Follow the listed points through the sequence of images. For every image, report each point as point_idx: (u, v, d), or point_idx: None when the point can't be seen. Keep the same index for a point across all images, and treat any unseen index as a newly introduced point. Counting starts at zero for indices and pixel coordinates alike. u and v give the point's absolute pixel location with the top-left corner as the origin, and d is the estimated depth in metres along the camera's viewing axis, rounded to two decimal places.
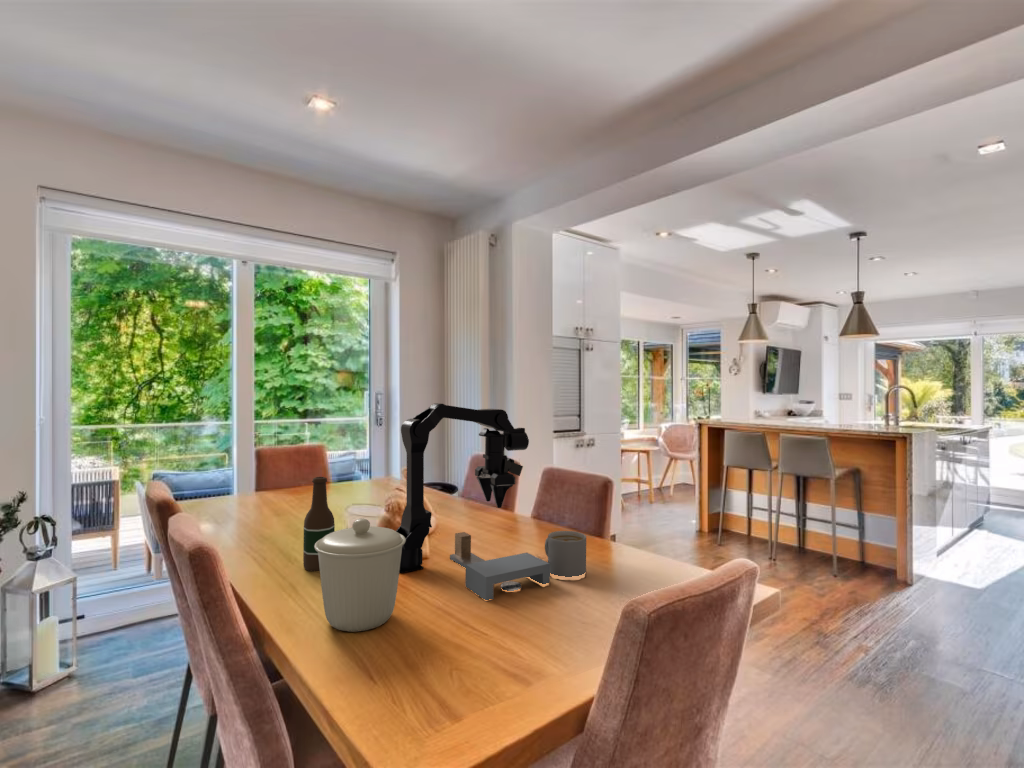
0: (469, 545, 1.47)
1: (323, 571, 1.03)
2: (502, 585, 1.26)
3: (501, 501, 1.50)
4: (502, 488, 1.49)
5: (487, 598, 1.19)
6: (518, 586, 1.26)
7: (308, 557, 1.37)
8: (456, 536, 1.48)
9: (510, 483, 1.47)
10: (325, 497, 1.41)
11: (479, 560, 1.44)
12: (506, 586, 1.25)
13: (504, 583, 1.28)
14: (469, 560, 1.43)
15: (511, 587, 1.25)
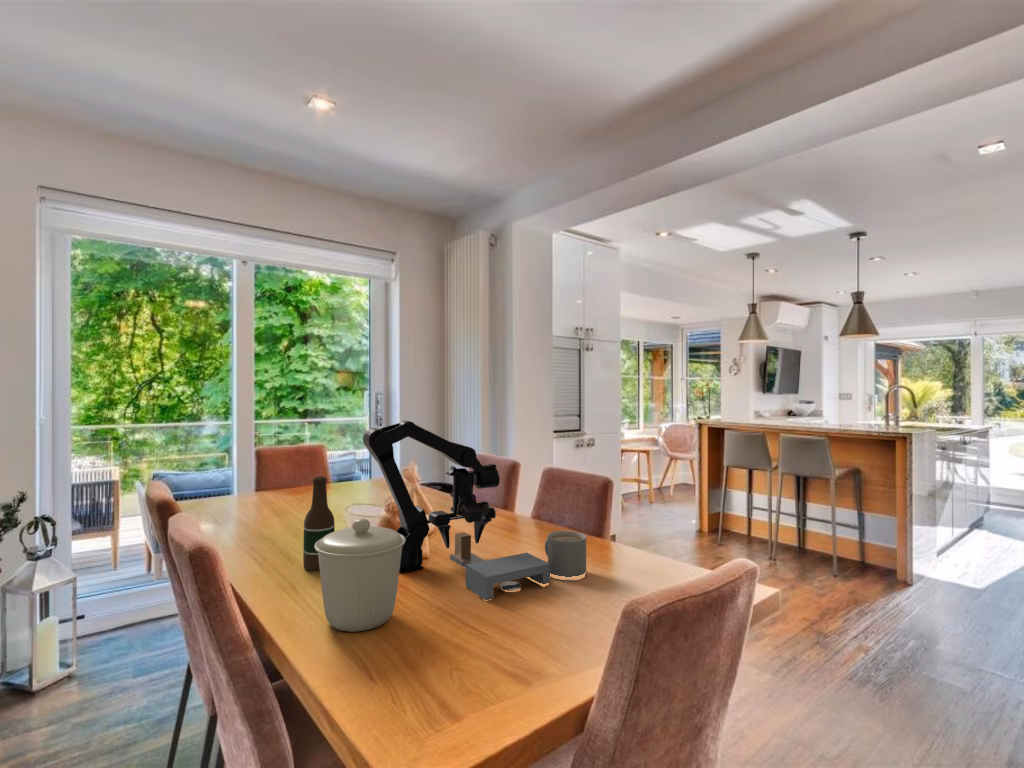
0: (469, 545, 1.47)
1: (323, 571, 1.03)
2: (502, 585, 1.26)
3: (445, 541, 1.45)
4: None
5: (487, 598, 1.19)
6: (518, 586, 1.26)
7: (308, 557, 1.37)
8: (456, 536, 1.48)
9: (434, 523, 1.42)
10: (325, 497, 1.41)
11: (479, 560, 1.44)
12: (506, 586, 1.25)
13: (504, 583, 1.28)
14: (469, 560, 1.43)
15: (511, 587, 1.25)
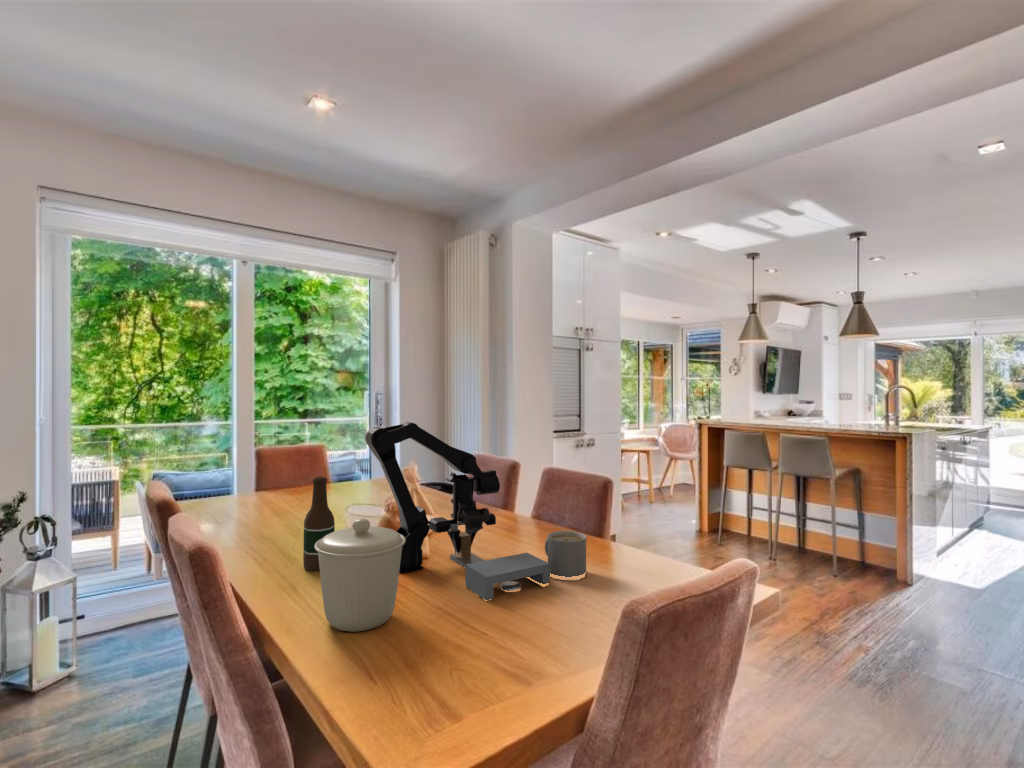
0: (469, 545, 1.47)
1: (323, 571, 1.03)
2: (502, 585, 1.26)
3: (455, 546, 1.47)
4: None
5: (487, 598, 1.19)
6: (518, 586, 1.26)
7: (308, 557, 1.37)
8: None
9: (434, 530, 1.42)
10: (325, 497, 1.41)
11: (479, 560, 1.44)
12: (506, 586, 1.25)
13: (504, 583, 1.28)
14: (469, 560, 1.43)
15: (511, 587, 1.25)
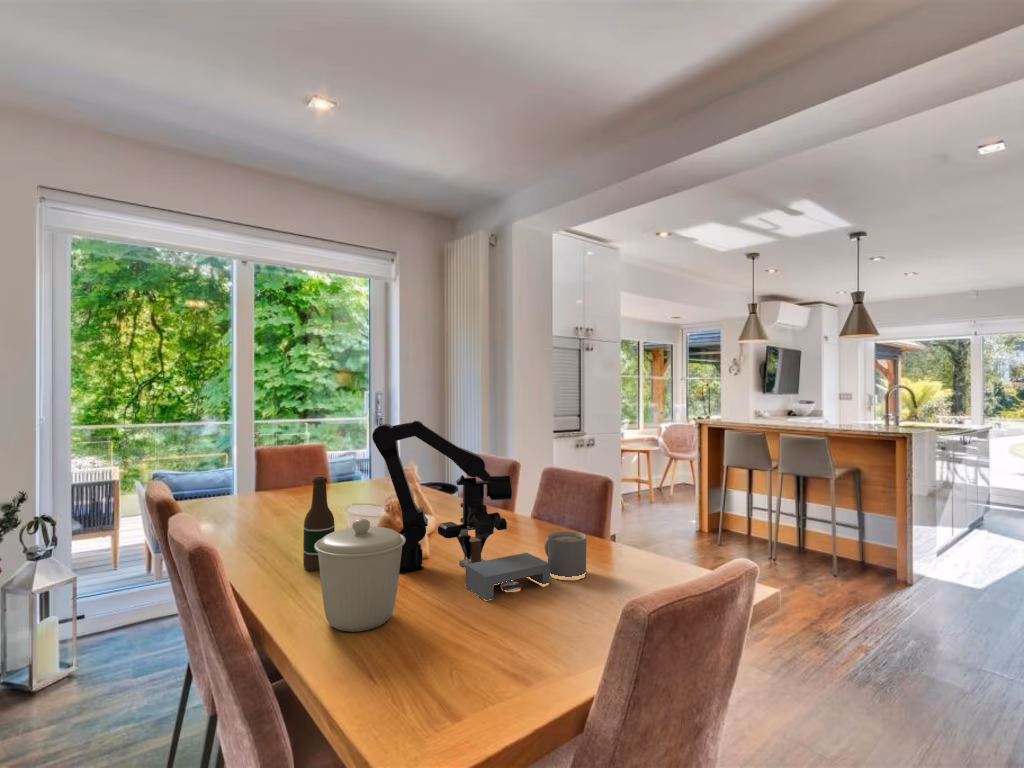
0: (479, 550, 1.42)
1: (323, 571, 1.03)
2: (502, 585, 1.26)
3: (465, 552, 1.41)
4: None
5: (487, 598, 1.19)
6: (518, 586, 1.26)
7: (308, 557, 1.37)
8: None
9: (443, 535, 1.37)
10: (325, 497, 1.41)
11: None
12: (506, 586, 1.25)
13: (504, 583, 1.28)
14: None
15: (511, 587, 1.25)
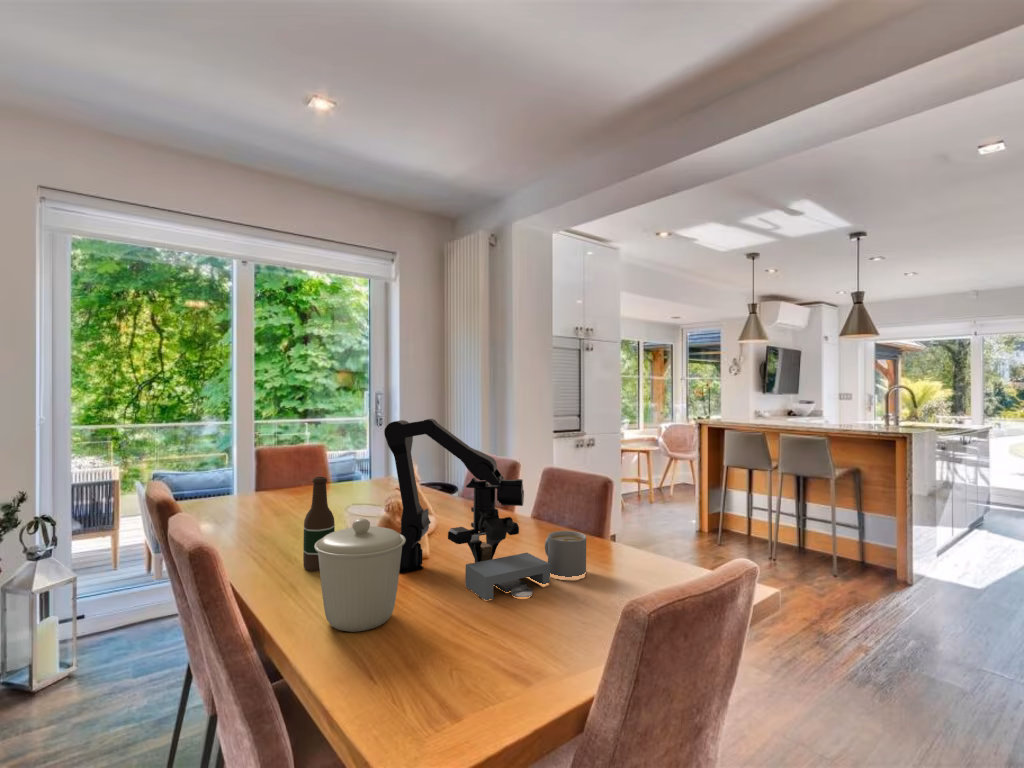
0: (490, 556, 1.37)
1: (323, 571, 1.03)
2: (513, 591, 1.22)
3: (476, 558, 1.36)
4: None
5: (487, 598, 1.19)
6: (529, 592, 1.22)
7: (308, 557, 1.37)
8: None
9: (454, 541, 1.32)
10: (325, 497, 1.41)
11: None
12: (517, 592, 1.21)
13: (515, 588, 1.24)
14: None
15: (522, 593, 1.21)
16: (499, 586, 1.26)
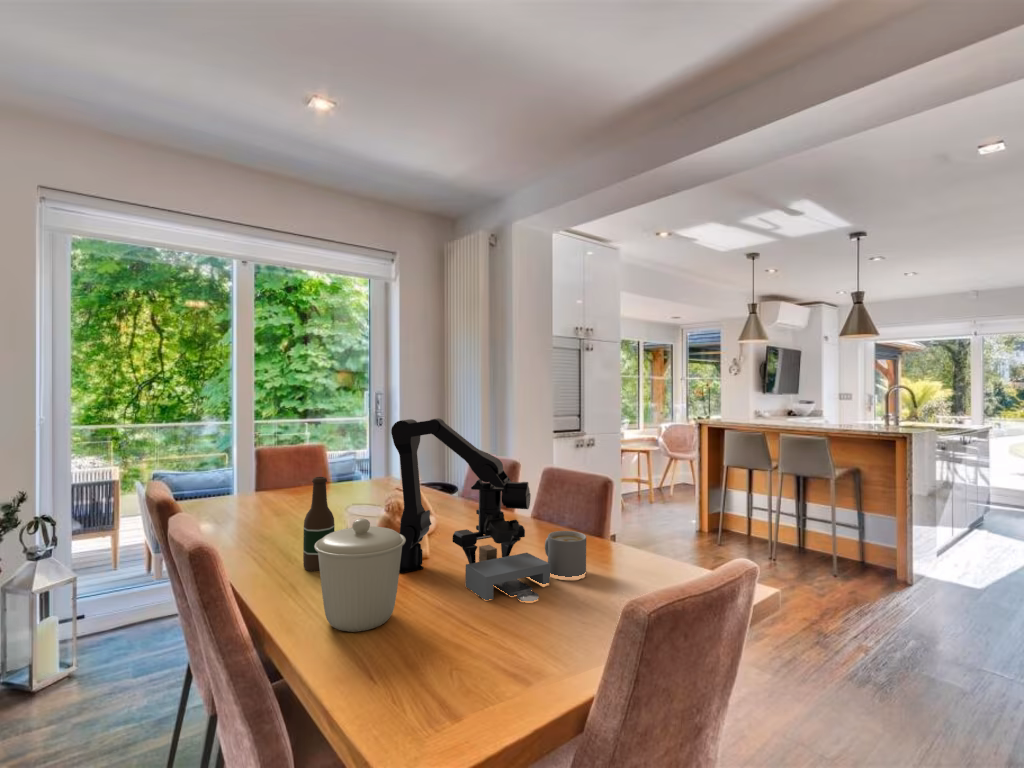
0: None
1: (323, 571, 1.03)
2: (518, 595, 1.20)
3: None
4: None
5: (487, 598, 1.19)
6: (535, 597, 1.20)
7: (308, 557, 1.37)
8: (480, 549, 1.36)
9: (459, 544, 1.29)
10: (325, 497, 1.40)
11: None
12: (522, 597, 1.19)
13: (521, 593, 1.22)
14: None
15: (528, 598, 1.19)
16: (504, 590, 1.23)
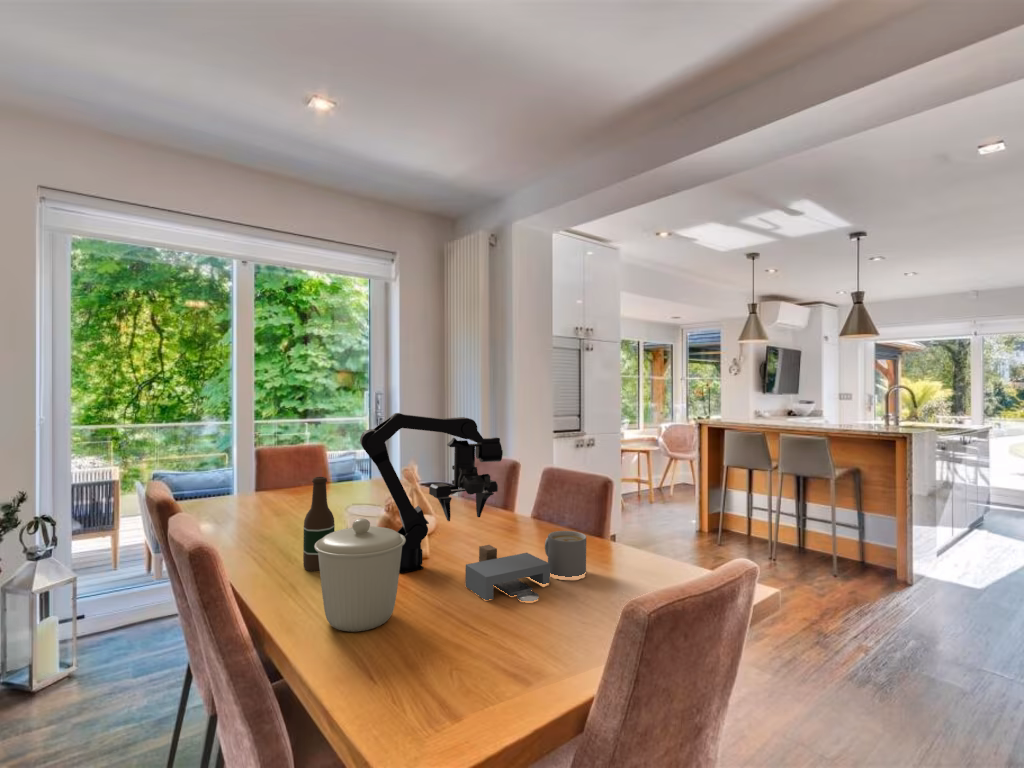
0: None
1: (323, 571, 1.03)
2: (518, 595, 1.20)
3: (446, 514, 1.43)
4: None
5: (487, 598, 1.19)
6: (535, 597, 1.20)
7: (308, 557, 1.37)
8: (481, 549, 1.36)
9: (434, 495, 1.40)
10: (325, 497, 1.41)
11: None
12: (522, 597, 1.19)
13: (521, 593, 1.22)
14: None
15: (528, 598, 1.19)
16: (504, 590, 1.23)
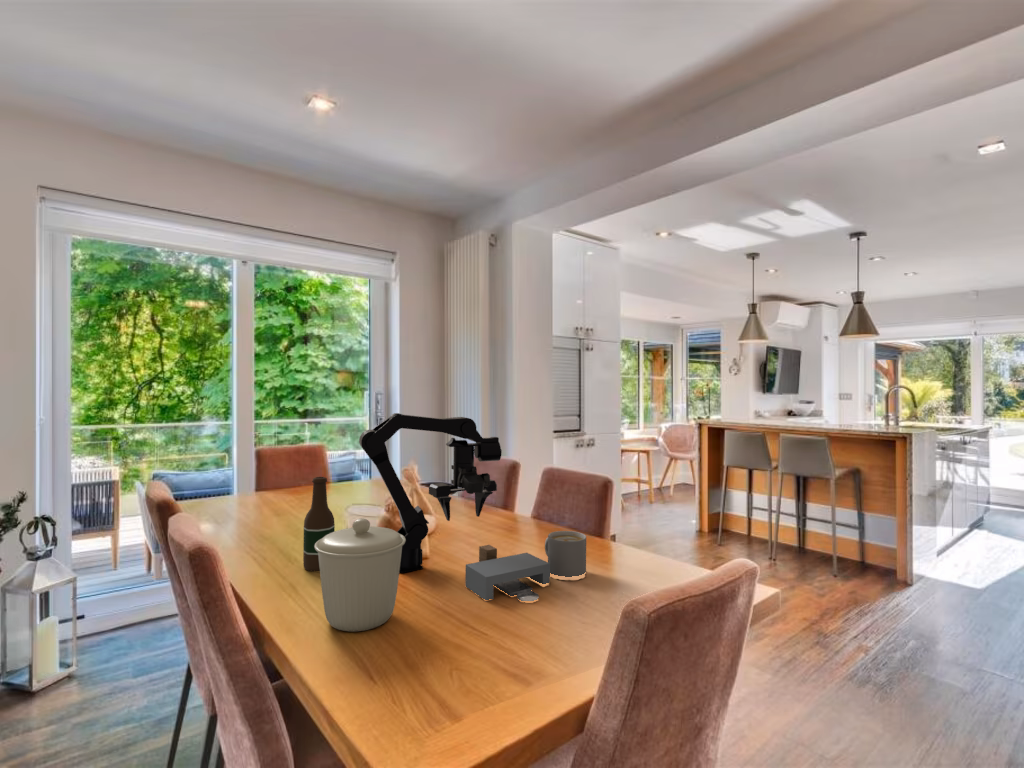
0: None
1: (323, 571, 1.03)
2: (518, 595, 1.20)
3: (446, 514, 1.43)
4: None
5: (487, 598, 1.19)
6: (535, 597, 1.20)
7: (308, 557, 1.37)
8: (481, 549, 1.36)
9: (434, 495, 1.40)
10: (325, 497, 1.41)
11: None
12: (522, 597, 1.19)
13: (521, 593, 1.22)
14: None
15: (528, 598, 1.19)
16: (504, 590, 1.23)
